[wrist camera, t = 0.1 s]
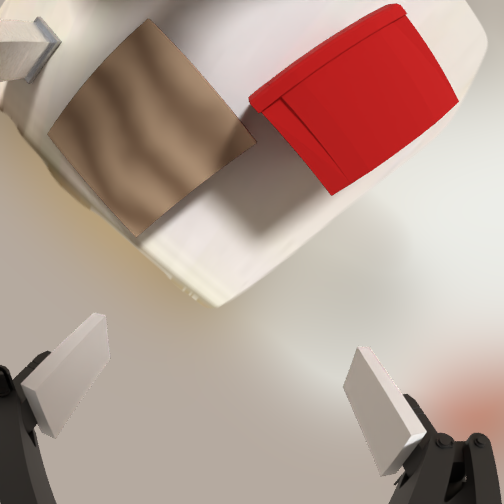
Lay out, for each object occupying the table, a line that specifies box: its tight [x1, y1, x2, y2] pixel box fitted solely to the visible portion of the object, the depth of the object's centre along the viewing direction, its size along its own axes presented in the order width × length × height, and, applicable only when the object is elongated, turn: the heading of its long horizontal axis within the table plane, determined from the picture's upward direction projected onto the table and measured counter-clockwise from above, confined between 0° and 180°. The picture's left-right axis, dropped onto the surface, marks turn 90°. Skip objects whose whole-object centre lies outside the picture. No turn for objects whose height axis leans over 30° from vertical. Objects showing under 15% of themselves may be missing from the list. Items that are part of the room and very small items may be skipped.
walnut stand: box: [47, 19, 257, 237], centre depth 31 cm, size 20×20×5 cm
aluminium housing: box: [0, 17, 61, 83], centre depth 18 cm, size 8×8×15 cm
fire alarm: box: [248, 4, 459, 196], centre depth 24 cm, size 16×11×15 cm
